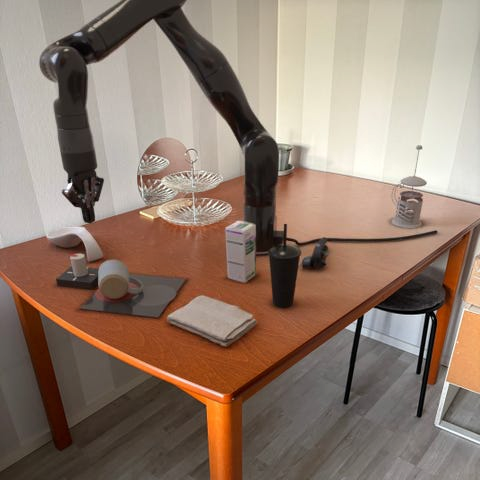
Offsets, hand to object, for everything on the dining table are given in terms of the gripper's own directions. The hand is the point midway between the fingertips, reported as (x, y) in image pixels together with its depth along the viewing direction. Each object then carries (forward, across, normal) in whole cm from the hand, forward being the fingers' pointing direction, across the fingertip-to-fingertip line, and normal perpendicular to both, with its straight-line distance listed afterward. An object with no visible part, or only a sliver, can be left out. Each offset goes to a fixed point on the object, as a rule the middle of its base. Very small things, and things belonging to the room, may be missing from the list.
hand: (89, 221), depth 119 cm
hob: (+17, -1, -11) cm, 21 cm away
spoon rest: (+18, +18, +21) cm, 33 cm away
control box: (+17, +1, +6) cm, 19 cm away
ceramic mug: (+17, -2, -8) cm, 19 cm away
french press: (+17, +76, -67) cm, 103 cm away
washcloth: (+17, -7, -35) cm, 40 cm away
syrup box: (+17, +18, -32) cm, 41 cm away
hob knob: (+15, +1, +6) cm, 17 cm away
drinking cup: (+17, +8, -47) cm, 51 cm away
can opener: (+17, +36, -49) cm, 63 cm away
